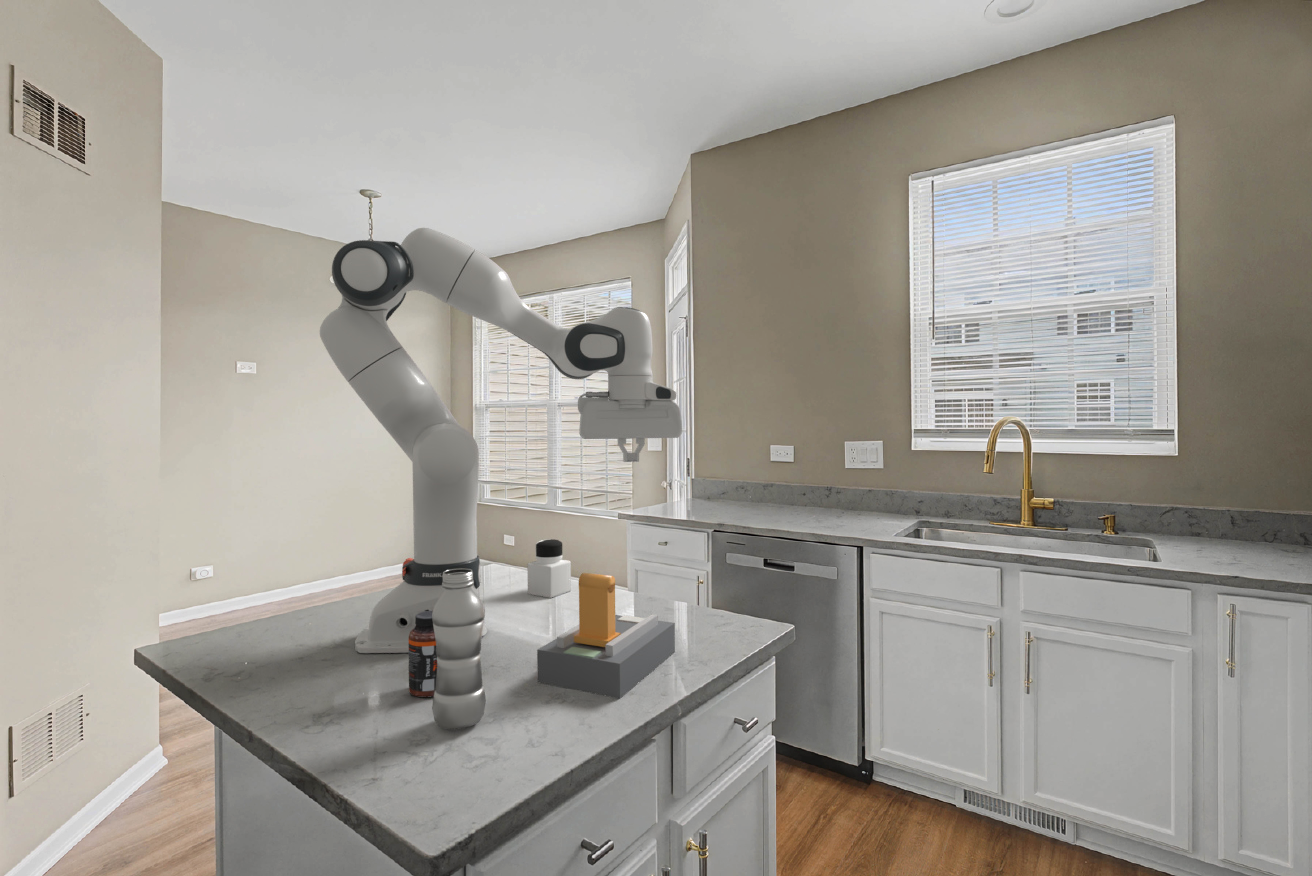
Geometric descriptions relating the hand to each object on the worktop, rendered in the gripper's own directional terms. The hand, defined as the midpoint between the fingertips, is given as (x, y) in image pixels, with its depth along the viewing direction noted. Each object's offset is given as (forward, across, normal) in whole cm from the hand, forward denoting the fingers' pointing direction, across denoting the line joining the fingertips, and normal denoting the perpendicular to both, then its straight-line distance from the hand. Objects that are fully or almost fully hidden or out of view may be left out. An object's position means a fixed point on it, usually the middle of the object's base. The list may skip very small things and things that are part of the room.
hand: (631, 461), depth 128 cm
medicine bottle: (+31, -15, +23) cm, 42 cm away
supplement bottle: (+31, -35, -27) cm, 54 cm away
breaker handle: (+26, -10, -27) cm, 39 cm away
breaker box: (+31, -8, -24) cm, 40 cm away
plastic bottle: (+31, -30, -39) cm, 58 cm away
